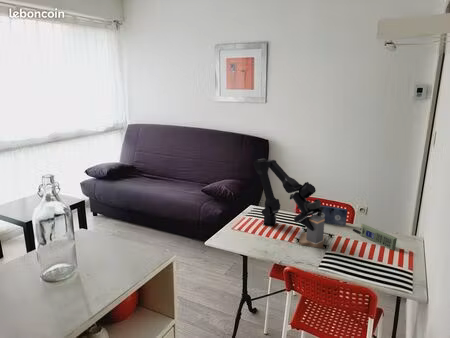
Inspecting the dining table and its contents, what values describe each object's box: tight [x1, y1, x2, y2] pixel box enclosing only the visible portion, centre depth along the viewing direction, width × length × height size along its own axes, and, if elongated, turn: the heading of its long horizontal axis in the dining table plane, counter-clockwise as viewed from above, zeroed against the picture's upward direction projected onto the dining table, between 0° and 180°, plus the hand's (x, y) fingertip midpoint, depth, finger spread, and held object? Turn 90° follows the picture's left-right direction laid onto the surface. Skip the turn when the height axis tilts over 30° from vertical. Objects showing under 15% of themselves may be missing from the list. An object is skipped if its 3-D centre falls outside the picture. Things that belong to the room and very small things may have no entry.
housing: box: [306, 215, 325, 244], centre depth 175 cm, size 6×6×12 cm
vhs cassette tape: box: [320, 205, 348, 227], centre depth 201 cm, size 18×3×10 cm, turn 65°
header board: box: [298, 232, 325, 249], centre depth 178 cm, size 12×12×4 cm
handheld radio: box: [352, 223, 398, 251], centre depth 180 cm, size 7×3×25 cm
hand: (317, 228), depth 173 cm, fingers open, 7 cm apart
